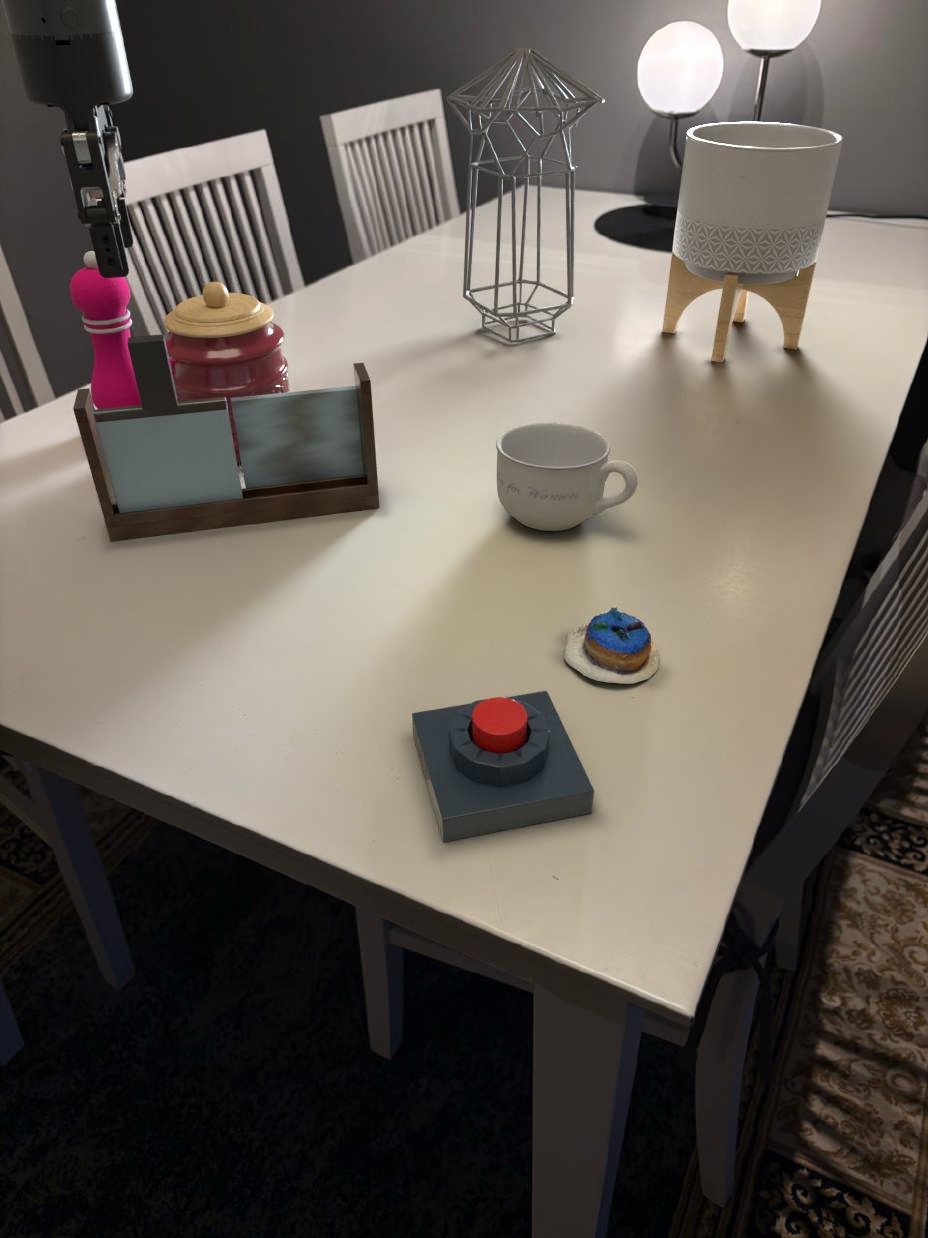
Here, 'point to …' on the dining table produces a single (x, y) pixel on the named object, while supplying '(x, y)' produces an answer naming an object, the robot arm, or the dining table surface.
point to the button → (499, 725)
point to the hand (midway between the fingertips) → (118, 261)
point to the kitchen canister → (225, 349)
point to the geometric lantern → (532, 65)
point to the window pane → (166, 440)
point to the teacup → (557, 475)
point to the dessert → (613, 649)
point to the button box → (500, 771)
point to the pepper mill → (106, 334)
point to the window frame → (266, 462)
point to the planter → (750, 221)
